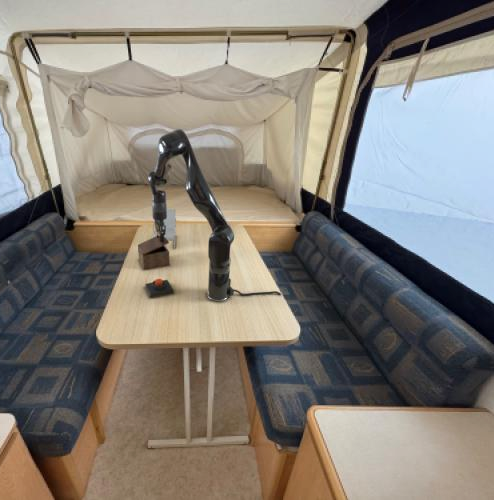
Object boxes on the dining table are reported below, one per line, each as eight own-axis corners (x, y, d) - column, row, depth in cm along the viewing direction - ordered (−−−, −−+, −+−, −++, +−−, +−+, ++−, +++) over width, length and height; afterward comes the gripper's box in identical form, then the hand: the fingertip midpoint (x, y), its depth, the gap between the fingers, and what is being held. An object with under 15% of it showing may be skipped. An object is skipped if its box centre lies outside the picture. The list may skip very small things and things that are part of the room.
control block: (167, 283, 132) (167, 276, 131) (173, 293, 125) (173, 285, 123) (145, 287, 128) (145, 280, 127) (150, 297, 121) (149, 290, 119)
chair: (176, 235, 190) (175, 208, 182) (174, 249, 167) (174, 220, 159) (157, 234, 190) (156, 208, 181) (153, 249, 167) (151, 220, 159)
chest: (162, 256, 160) (162, 242, 156) (169, 265, 149) (169, 251, 145) (138, 259, 154) (137, 246, 151) (143, 270, 144) (142, 255, 140)
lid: (162, 234, 154) (159, 227, 151) (169, 243, 143) (166, 235, 141) (138, 246, 151) (134, 238, 148) (143, 255, 140) (139, 247, 138)
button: (161, 281, 127) (161, 278, 126) (163, 285, 124) (163, 281, 123) (154, 282, 126) (154, 279, 125) (156, 286, 123) (156, 283, 122)
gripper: (170, 213, 135) (170, 243, 143) (162, 205, 147) (163, 234, 155) (156, 214, 133) (157, 245, 140) (149, 206, 145) (150, 235, 152)
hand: (160, 239), depth 147 cm, fingers closed on lid, 5 cm apart
